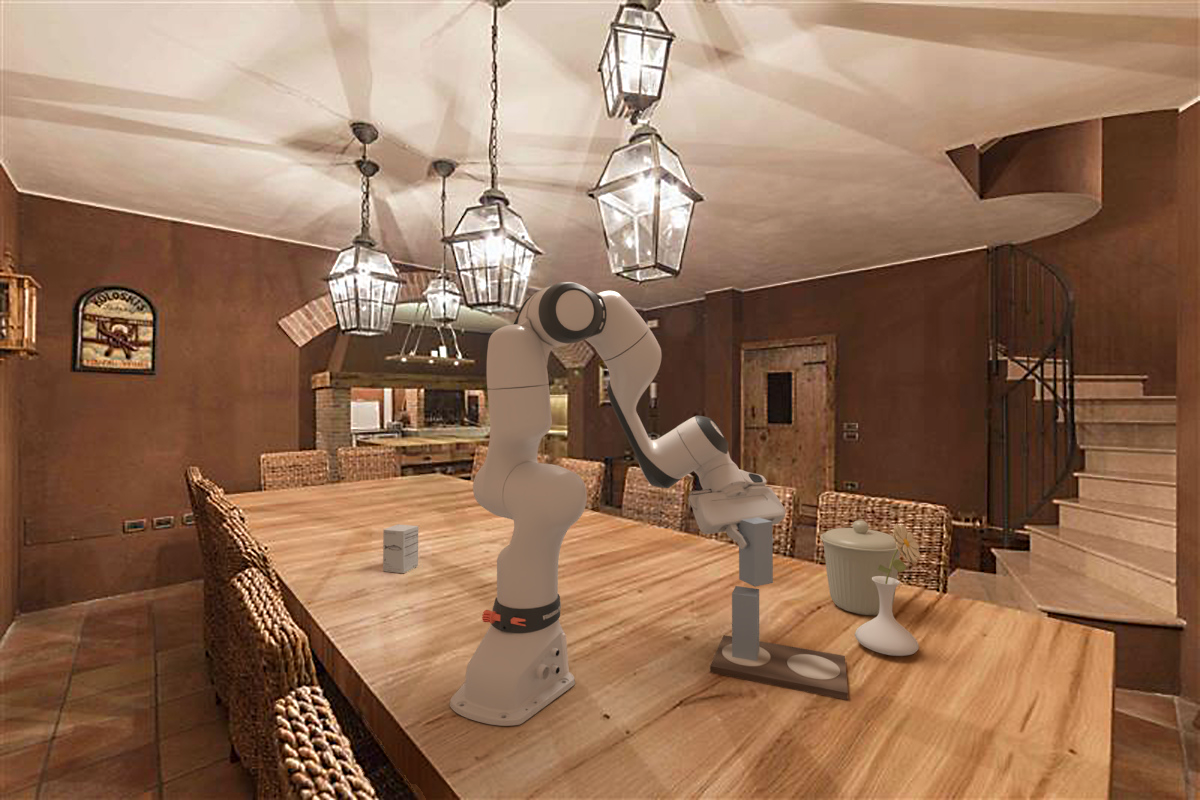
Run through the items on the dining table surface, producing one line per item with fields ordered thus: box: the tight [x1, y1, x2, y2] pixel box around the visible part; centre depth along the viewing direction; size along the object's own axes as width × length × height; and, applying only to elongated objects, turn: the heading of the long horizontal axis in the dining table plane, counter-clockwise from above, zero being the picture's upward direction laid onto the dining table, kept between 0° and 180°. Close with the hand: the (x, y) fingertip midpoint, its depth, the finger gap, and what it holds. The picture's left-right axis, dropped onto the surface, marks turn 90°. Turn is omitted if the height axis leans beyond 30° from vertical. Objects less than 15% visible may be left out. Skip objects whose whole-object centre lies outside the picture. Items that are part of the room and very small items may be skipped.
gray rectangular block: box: [738, 517, 774, 587], centre depth 103 cm, size 4×4×12 cm
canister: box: [819, 519, 901, 616], centre depth 127 cm, size 18×18×21 cm
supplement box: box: [382, 523, 419, 574], centre depth 157 cm, size 7×7×13 cm
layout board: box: [709, 634, 849, 701], centre depth 99 cm, size 14×23×1 cm, turn 67°
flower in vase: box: [854, 523, 921, 657], centre depth 106 cm, size 13×11×25 cm
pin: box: [731, 585, 760, 661], centre depth 101 cm, size 4×4×12 cm
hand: (758, 545), depth 102 cm, fingers closed on gray rectangular block, 4 cm apart
